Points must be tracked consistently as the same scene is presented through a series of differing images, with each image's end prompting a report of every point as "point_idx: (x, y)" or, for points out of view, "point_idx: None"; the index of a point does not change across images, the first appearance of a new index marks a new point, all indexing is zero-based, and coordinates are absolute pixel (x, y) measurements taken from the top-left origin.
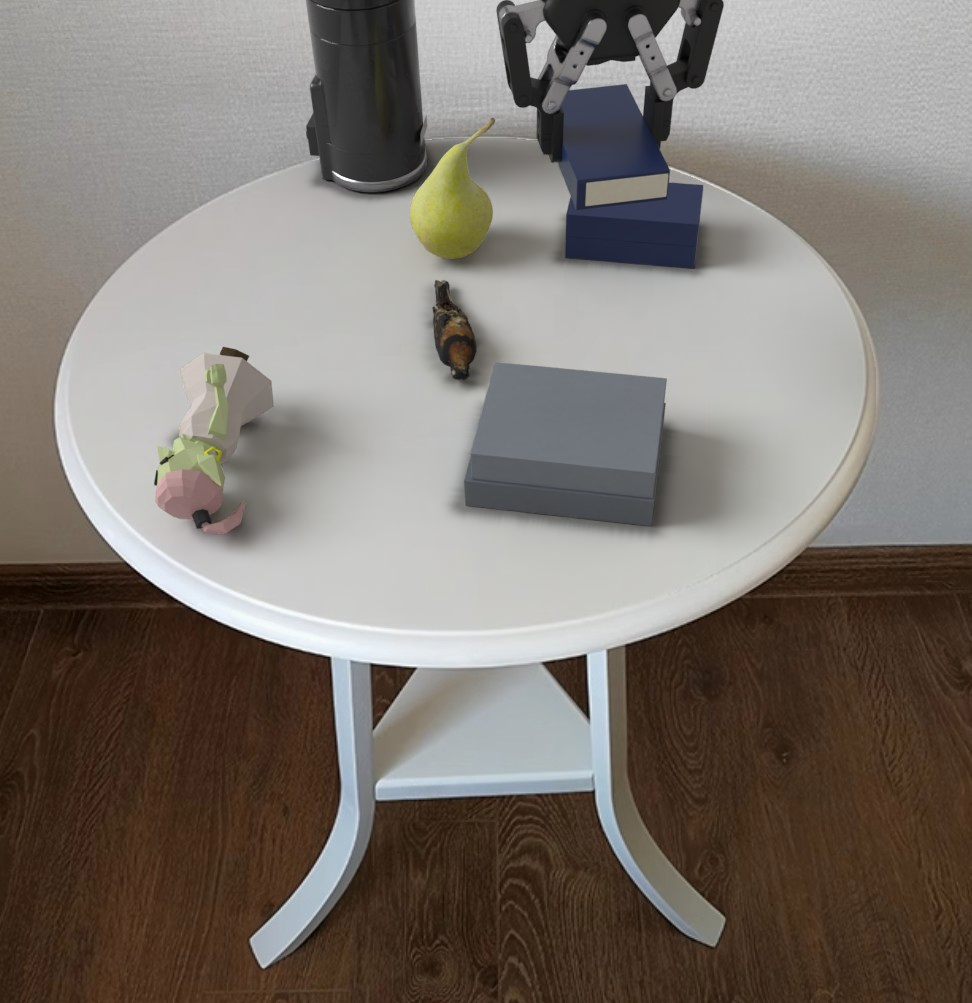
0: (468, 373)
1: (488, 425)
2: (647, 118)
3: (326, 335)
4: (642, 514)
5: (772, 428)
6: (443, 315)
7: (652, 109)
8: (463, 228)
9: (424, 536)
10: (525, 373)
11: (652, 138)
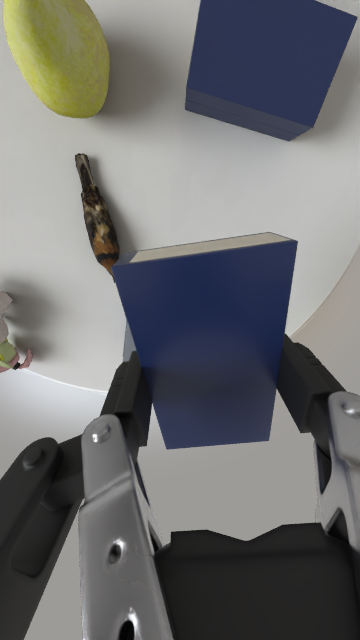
0: None
1: (129, 353)
2: (283, 375)
3: (15, 213)
4: None
5: None
6: (90, 227)
7: (293, 414)
8: (81, 107)
9: (111, 359)
10: None
11: (273, 396)
